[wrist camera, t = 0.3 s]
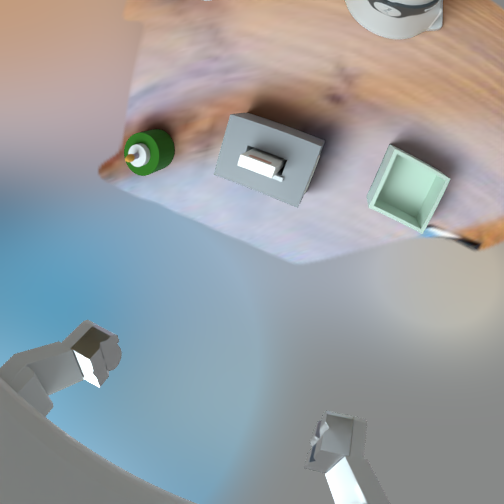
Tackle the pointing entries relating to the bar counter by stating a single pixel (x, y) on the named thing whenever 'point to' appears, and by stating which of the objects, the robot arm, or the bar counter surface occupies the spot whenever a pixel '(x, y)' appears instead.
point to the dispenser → (277, 143)
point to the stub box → (406, 189)
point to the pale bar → (261, 162)
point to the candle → (149, 151)
